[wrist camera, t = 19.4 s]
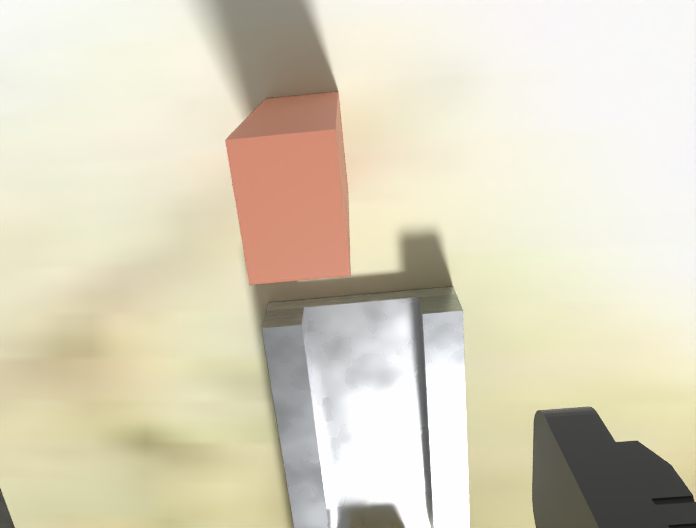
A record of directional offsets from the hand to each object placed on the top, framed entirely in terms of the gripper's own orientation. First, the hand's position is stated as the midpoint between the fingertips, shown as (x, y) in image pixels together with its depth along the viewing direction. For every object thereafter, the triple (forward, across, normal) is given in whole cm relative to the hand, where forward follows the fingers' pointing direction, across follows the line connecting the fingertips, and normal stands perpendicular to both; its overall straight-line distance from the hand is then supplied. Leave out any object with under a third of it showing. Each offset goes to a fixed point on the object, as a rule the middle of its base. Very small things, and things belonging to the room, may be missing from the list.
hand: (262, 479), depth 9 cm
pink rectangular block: (+23, +1, 0) cm, 23 cm away
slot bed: (+23, -1, +16) cm, 28 cm away
